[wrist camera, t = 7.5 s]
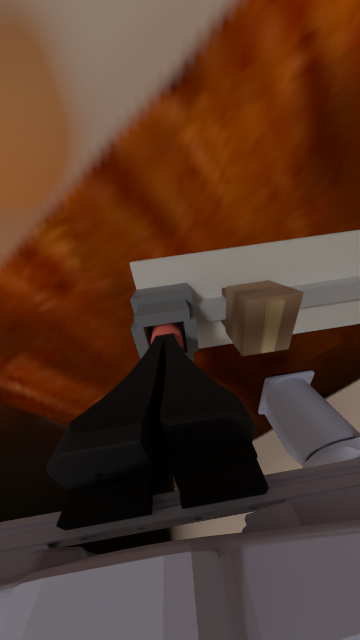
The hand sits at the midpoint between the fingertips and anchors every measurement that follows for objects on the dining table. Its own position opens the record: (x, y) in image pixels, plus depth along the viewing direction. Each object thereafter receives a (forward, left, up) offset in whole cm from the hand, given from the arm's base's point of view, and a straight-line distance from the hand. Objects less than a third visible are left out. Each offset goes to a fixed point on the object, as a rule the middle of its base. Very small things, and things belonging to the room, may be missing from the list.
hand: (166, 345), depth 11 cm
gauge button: (0, 0, -2) cm, 2 cm away
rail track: (0, -13, -7) cm, 14 cm away
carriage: (0, -8, -6) cm, 10 cm away
